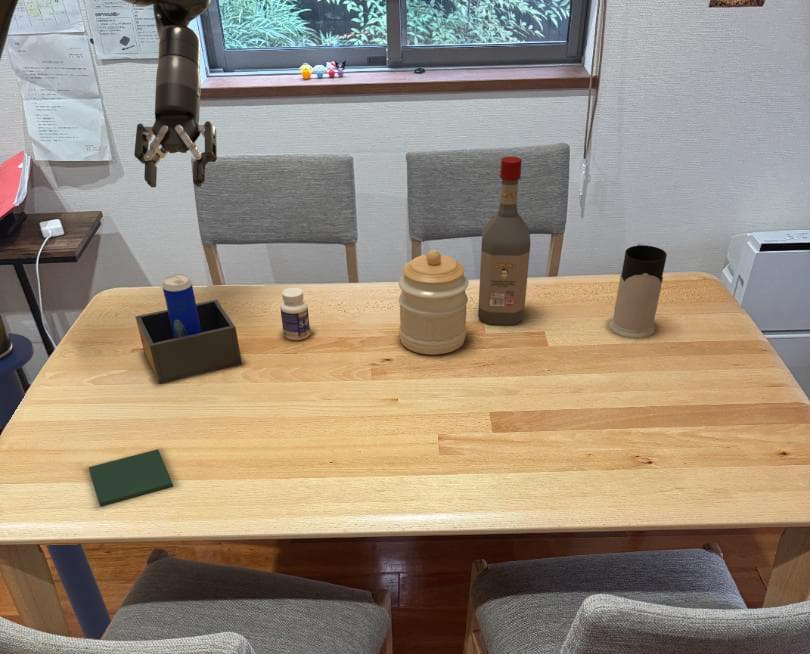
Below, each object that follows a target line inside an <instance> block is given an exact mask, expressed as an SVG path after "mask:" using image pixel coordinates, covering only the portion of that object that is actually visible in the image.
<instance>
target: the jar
mask: <svg viewBox="0 0 810 654" xmlns="http://www.w3.org/2000/svg"><path fill="white" fill-rule="evenodd" d="M402 273H403V274H402V275H401V276H400V278H399V279H398V283H397V284H398V287H399V289H400V290H401V293H400V295H399V296H398V303H399V329H398V330H399V332H398V333H399V338H400V342H401V344H402V345H403V346H404V347H405V348H406V349H407V350H410V351H411V352H414V353H418V354H423V355H443V354H449V353H452V352H454V351H456V350H458V349H459V348H461V347H462V346H463V344H464V343H465V340H466V337H467V330H468V329H467V306H468V302H469V297H468V295H467V293H466V290H467V288H468V287H469V279H468V277H467V276H466V275H465V266H464V265H463V264H462V263H461V262H459V261H458V260H455V259H454V258H453V257H452V256H449V255H446V254H441V253H440V252H439V251H438V250H436V249H432V250H429V251H428V253H427V254H422V255H419V256H416V257H414V258H413V259H412V260H410V261H408V262H407V263H406V264H404V266H403V267H402Z"/></svg>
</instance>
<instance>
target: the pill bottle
mask: <svg viewBox="0 0 810 654" xmlns="http://www.w3.org/2000/svg"><path fill="white" fill-rule="evenodd" d="M281 297H282V302H281V304H280V305H279V307H280V309H279V310H280V317H281V325H282V332H283V337H284V338H286V339H287V340H289V341H301V340H304V339H307V338H308V337H309V336H310V335H311V327H310V315H309V306H308V302H307V301H306V300H304V291H303V289H302V288H299V287H288V288H285V289H284V290H282V292H281Z"/></svg>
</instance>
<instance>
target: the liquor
mask: <svg viewBox="0 0 810 654" xmlns="http://www.w3.org/2000/svg"><path fill="white" fill-rule="evenodd" d="M522 161H523V160H522V158H521V157H518V156H505V157H502V158H501V159H500V170H499V171H500V172H499V178H500V179H501V186H500V187H501V188H500V201H499V206H498V211H497V213H496V214H495V215H494V216H493V217H492V218H491V219H490V220H489V221H488V222H487V223H486V224H485V225H484V227H483V229H482V231H481V247H480V249H481V251H480V266H479V267H480V268H479V286H478V287H479V289H478V307H477V309H478V311H477V312H478V313H477V317H478V319H479V321H481V322H483V323H485V324H486V325H494V326H495V325H496V326H497V325H498V326H499V325H500V326H514V325H517V324H518V323H520V322H522V321H523V320H524V318H525V309H526V307H525V306H526V298H527V297H526V296H527V287H528V275H529V263H530V252H531V232H530V228H529V226H528V224H527V223H526V222H525V220H524V219H523V218H522V217H521V215H520V214H519V212H518V205H517V204H518V188H519V180H520V179H521V176H522Z"/></svg>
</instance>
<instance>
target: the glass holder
mask: <svg viewBox="0 0 810 654" xmlns="http://www.w3.org/2000/svg"><path fill="white" fill-rule="evenodd" d="M667 256H668V254H667V252H666V251H665V250H664V249H662V248H660V247H657V246H654V245H653V246H652V245H646V244H645V245H644V243H643V242H638V244H637V245H633V246H630V247H628V248H627V249H626V250H625V253H624V258H623V265H622V271H621V274H620V276H619V281H618V287H617V292H616V293H617V295H616V299H615V305H614V310H613V316H612V320H611V321H610V323H609V329H610V330H611V332H613V333H614V334H616V335H618V336H621V337H624V338H628V339H629V338H630V339H643V338H647V337H649V336H651V335H653V334H654V333H655V330H656V328H655V318H656V315H657V314H656V313H657V309H658V304H659V299H660V295H661V289H662V284H663V280H664V276H663V275H664V270H665V267H666V261H667Z"/></svg>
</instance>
